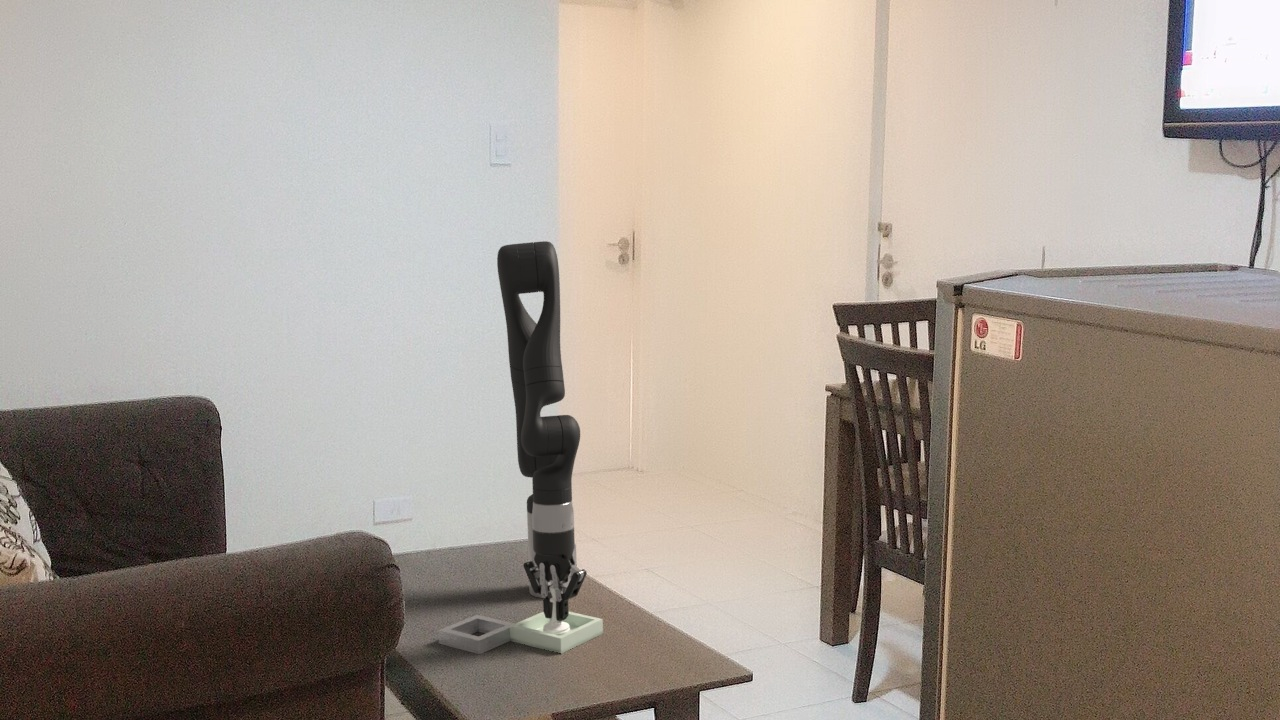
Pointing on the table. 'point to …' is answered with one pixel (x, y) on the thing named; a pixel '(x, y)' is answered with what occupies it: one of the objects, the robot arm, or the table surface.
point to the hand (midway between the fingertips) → (555, 618)
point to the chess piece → (555, 618)
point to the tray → (578, 634)
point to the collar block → (463, 639)
